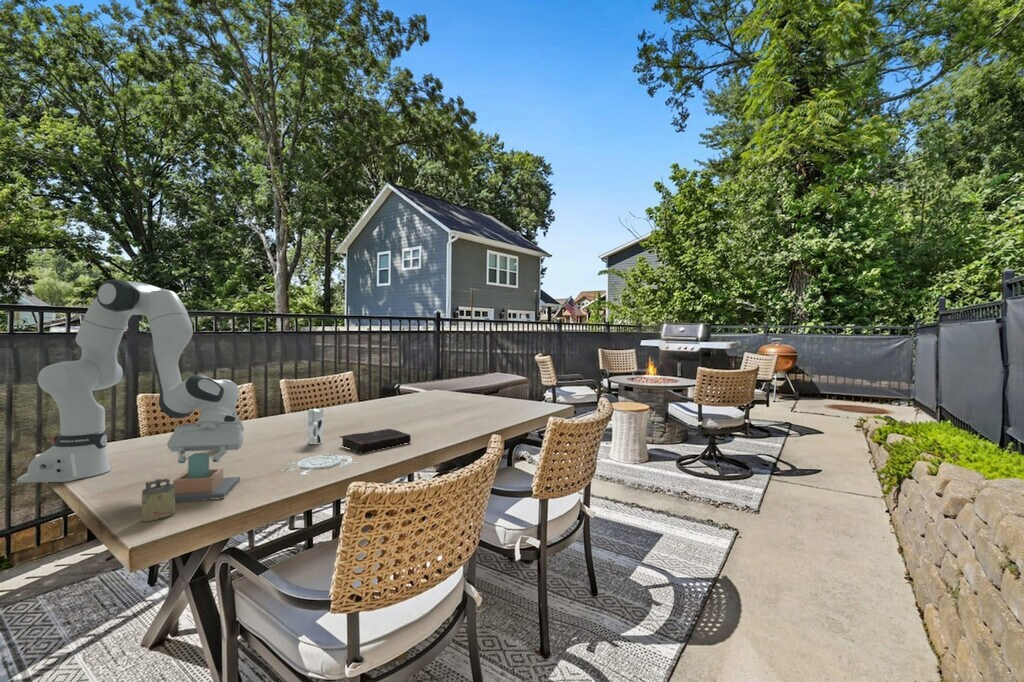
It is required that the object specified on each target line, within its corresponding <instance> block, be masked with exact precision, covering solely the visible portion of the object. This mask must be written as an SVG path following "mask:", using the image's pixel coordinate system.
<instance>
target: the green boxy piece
mask: <svg viewBox="0 0 1024 682" xmlns="http://www.w3.org/2000/svg"><path fill="white" fill-rule="evenodd" d="M162 483H165V484H162ZM152 485H155V486H152ZM175 508H176V502H175V485H174V484H173V483H170V478H163V479H161V478H156V479H155V480H152V481H147V482H145V488H144V489H142V491H141V520H140V521H141V522H143V523H145V522H147V523H148V522H152V521H157V520H162V519H164V518H168V517H169V518H170V517H171V516H173V515H175V514H176V509H175Z"/></svg>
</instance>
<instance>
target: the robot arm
mask: <svg viewBox="0 0 1024 682" xmlns="http://www.w3.org/2000/svg"><path fill="white" fill-rule="evenodd" d="M134 315H135V316H138V315H139V316H144V317H145V316H146V319H147V323H148V325H149V328H150V333H151V337H152V345H153V349H152V352H153V353H152V356H153V357H152V358H153V363H154V368H155V372H156V377H157V381H158V387H159V397H158V399H159V400H158V404H159V408H160V410H161V411H162V412H163V413H164V414H165V415H166V416H168V417H171V418H173V419H183V418H184V419H185V418H186V417H188V416H190V415H191V414H192V413H193V412H195V410H197V409H199V410H201V412H200V414H199V416H198V419H197V421H196V423H183V424H181V425H178V426H176V427H175V428H174V430H173V432H172V434H171V436H170V437H169V439H168V441H167V444H166V446H167V448H168V449H169V450H170V451H171V452H172V453H175V452H177V453H178V458H177V462H178V464H186V461H187V459H188V457H186V455H185V454H186V453H187V452H206V451H207V452H209V451H210V452H211V451H213V452H214V451H219V452H217V453H216V454H213V456H212V459H211V460H212V462H213V463H220V460H221V458H223V456H225V454H227V453H228V451H237V450H239V449H240V448H242V445H243V442H244V441H243V440H244V433H243V432H244V431H245V430H244V427H245V426H244V423H243V422H242V420H241V419H240V418H239V417H238V416H237V417H235V416H232V412H233V410H234V409H235V408H236V406H237V403H238V399H239V395H240V393H239V391H240V390H239V387H238V386H239V385H237V384H236V383H235V382H234V381H232V380H229V379H225V378H222V379H221V378H220V379H213V378H210V377H208V376H206V375H202V374H193V375H191V376H189V377H188V378H186V379H184V380H183V381H182V376H181V372H180V367H179V360H180V357H181V355H182V353H183V351H184V349H185V348H186V347H187V345H189V343H190V341H191V340H192V337H193V334H194V333H193V331H194V330H193V324H192V320H191V318H190V316H189V313H188V310H187V308H186V307H185V304H184V303H183V301H182V300H181V298H180V297H179V295H178V294H177V293H176V292H174V291H173V290H170V289H166V288H163V287H161V286H156V285H152V284H150V283H149V284H148V283H145V282H136V281H129V280H128V281H127V280H124V279H117V278H116V279H108V280H107V279H106V280H105V281H103V282H102V283H101V284H100V285H99V287H98V288H97V290H96V297H95V298H94V299H93V301H92V302H91V304H90V305H89V307H88V309H87V311H86V313H85V315H84V317H83V318H82V319H83V320H82V322H81V324H80V326H79V329H78V331H77V333H76V336H75V343H76V344H77V346H78V347H80V349H81V356H80V358H79V359H78V360H65V361H59V362H57V363H56V362H55V363H53V364H48V365H46V366H44V367H43V368H42V369H41V370H40V371H39V373H38V376H37V382H38V387H39V388H40V389H41V390H42V391H44V392H45V393H46V394H48V395H50V396H51V397H52V398H53V400H54V402H55V404H56V406H57V408H58V414H59V426H60V427H59V428H60V429H59V430H60V433H59V434H57V435H56V436H54V437H52V438H51V437H50V441H49V442H50V443H51V442H53V445H52V446H51V447H49V448H48V449H46V450H45V451H44V452H42V453H40V454H39V455H37V456H35V457H34V458H33V459H32V460H31V461H30V463H29V465H28V469H27V472H26V473H25V474H22V475H20V476H19V477H17V480H16V482H17V483H19V484H20V483H22V484H23V483H66V482H71V481H72V482H73V481H77V480H80V479H86V478H90V477H94V476H99V475H102V474H106V473H108V472H109V471H111V470H112V468H111V465H110V463H109V459H108V454H107V443H108V442H107V441H108V436H107V434H108V433H107V429H106V409H105V407H104V406H103V405H102V404H100V403H98V402H97V401H96V398H95V396H94V393H93V391H99V390H105V389H108V388H111V387H113V386H115V385H117V384H118V383H120V382H121V380H122V378H123V376H124V371H123V367H122V366H121V365H120V364H119V362H118V350H119V346H120V343H121V341H122V338H123V335H124V333H125V331H126V328H127V326H128V322H129V320H130V319H131V317H133V316H134Z"/></svg>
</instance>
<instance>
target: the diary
mask: <svg viewBox="0 0 1024 682" xmlns="http://www.w3.org/2000/svg"><path fill="white" fill-rule="evenodd" d="M339 438H341V439H342V443H341V444H342V445H341V446H344V447H347V448H350V449H353V450H352V451H354V450H356V451H355V452H357V451H360V452H361V453H363V454H366V453H365V452H367V453H370V452H369V451H372V452H374V451H373V450H377V451H379V450H378V449H381V450H383V449H382V448H386V449H388V448H387V447H391V448H393V447H392V446H395V447H397V446H396V445H400V444H404V443H409V442H410V443H411V440H412V439H411V434H409V433H405V432H403V431H400V430H396V429H393V428H386V429H385V428H384V429H380V430H374V431H369V432H363V433H362V432H361V433H360V432H359V433H352V434H345V435H340V436H339ZM410 443H409V444H410ZM400 446H401V445H400ZM360 452H359V453H360ZM361 453H360V454H361Z"/></svg>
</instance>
